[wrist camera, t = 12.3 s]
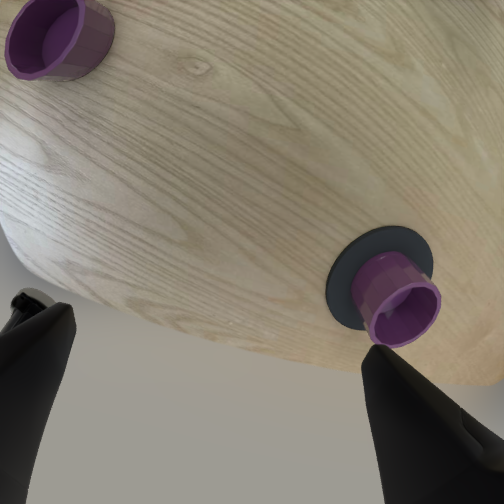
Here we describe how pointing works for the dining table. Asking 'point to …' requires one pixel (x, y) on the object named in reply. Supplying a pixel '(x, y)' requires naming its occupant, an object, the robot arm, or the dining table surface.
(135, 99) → the dining table surface
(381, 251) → the coaster
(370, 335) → the purple cup
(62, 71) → the purple faceted cup
